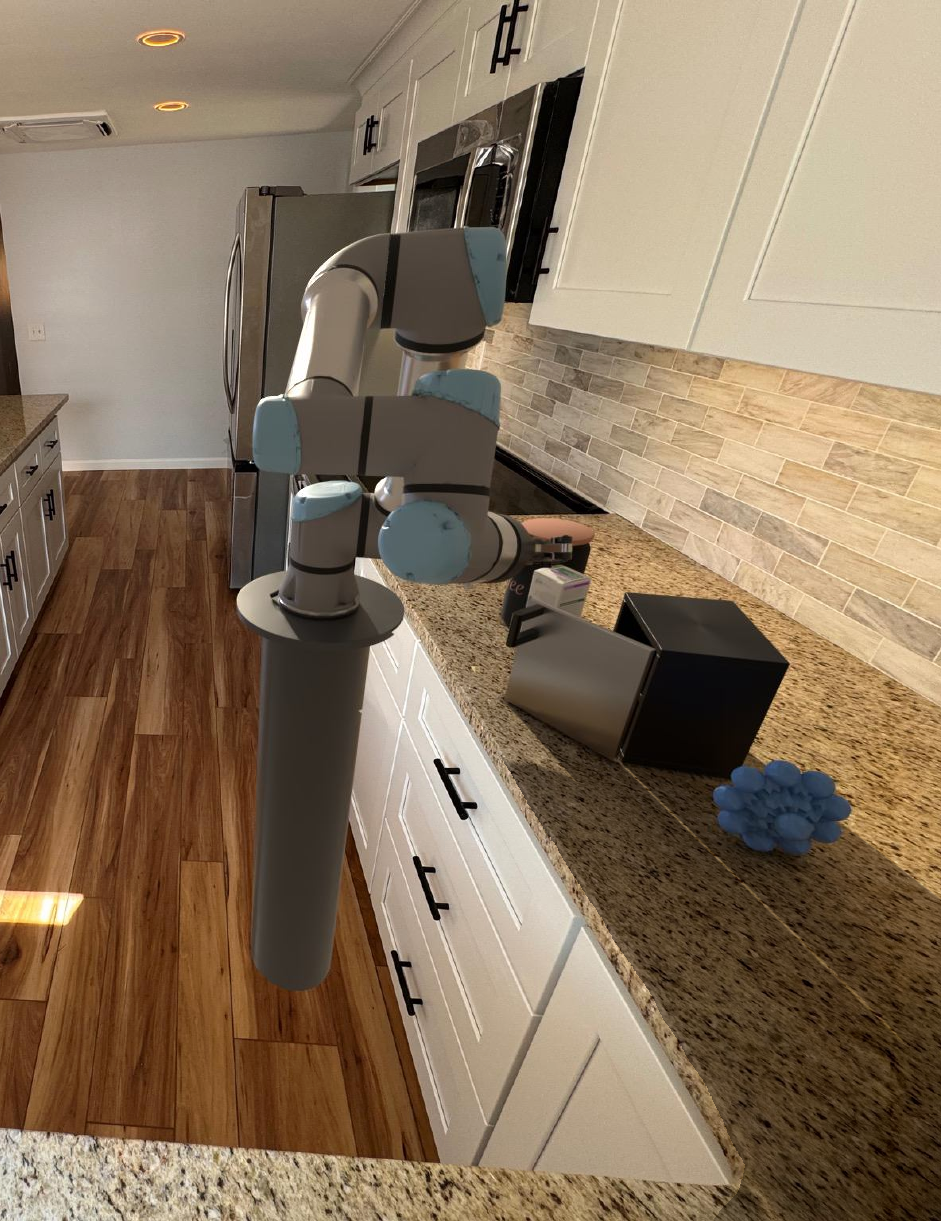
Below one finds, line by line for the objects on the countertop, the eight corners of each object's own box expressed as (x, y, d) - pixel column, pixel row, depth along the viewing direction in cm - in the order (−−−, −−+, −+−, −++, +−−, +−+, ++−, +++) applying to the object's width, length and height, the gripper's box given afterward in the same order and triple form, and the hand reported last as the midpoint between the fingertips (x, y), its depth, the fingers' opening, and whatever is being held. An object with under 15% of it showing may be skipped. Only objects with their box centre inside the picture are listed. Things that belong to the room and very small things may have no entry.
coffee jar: (504, 605, 125) (525, 514, 117) (571, 618, 120) (597, 523, 111) (494, 629, 118) (515, 534, 110) (564, 644, 112) (592, 545, 104)
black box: (621, 762, 87) (661, 649, 79) (592, 693, 100) (625, 591, 92) (736, 780, 83) (790, 663, 75) (690, 706, 96) (733, 600, 88)
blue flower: (710, 868, 72) (751, 783, 66) (685, 823, 77) (721, 740, 72) (848, 892, 68) (904, 804, 62) (811, 842, 74) (860, 757, 68)
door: (586, 774, 85) (623, 662, 77) (479, 709, 98) (501, 608, 90) (617, 759, 87) (656, 649, 79) (508, 697, 100) (533, 597, 92)
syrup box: (571, 657, 109) (594, 576, 102) (542, 664, 107) (563, 583, 101) (542, 640, 114) (563, 562, 107) (514, 647, 112) (533, 569, 106)
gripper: (418, 583, 75) (498, 582, 91) (549, 584, 65) (613, 583, 81) (419, 516, 75) (499, 526, 90) (551, 507, 65) (616, 520, 81)
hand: (553, 553), depth 86 cm, fingers closed
